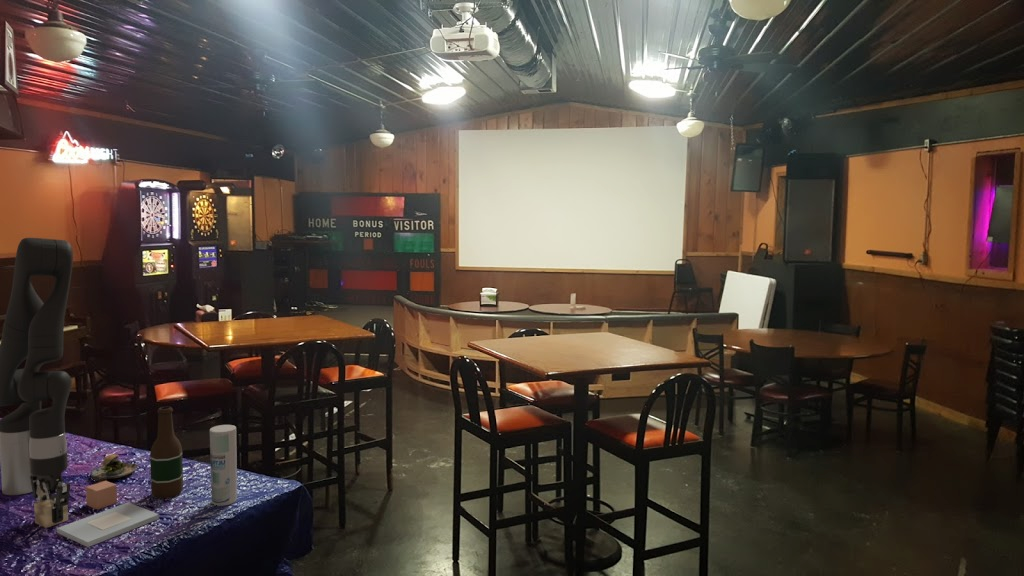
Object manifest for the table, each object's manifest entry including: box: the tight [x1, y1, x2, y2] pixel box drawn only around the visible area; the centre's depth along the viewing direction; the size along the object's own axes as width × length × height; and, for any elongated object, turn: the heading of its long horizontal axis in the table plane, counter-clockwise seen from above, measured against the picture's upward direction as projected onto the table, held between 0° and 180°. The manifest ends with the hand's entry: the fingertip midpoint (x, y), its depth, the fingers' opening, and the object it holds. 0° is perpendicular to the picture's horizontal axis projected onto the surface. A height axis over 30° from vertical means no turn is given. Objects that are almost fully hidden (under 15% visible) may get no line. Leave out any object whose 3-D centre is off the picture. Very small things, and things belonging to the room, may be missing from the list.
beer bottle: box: [149, 406, 184, 500], centre depth 179 cm, size 8×8×24 cm
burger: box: [90, 451, 138, 483], centre depth 192 cm, size 12×12×8 cm
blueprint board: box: [56, 502, 160, 548], centre depth 161 cm, size 13×17×1 cm
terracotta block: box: [85, 480, 118, 510], centre depth 173 cm, size 5×5×5 cm
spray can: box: [209, 424, 238, 507], centre depth 175 cm, size 6×6×20 cm
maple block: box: [33, 498, 69, 529], centre depth 162 cm, size 5×5×5 cm
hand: (51, 518), depth 162 cm, fingers closed on maple block, 5 cm apart
